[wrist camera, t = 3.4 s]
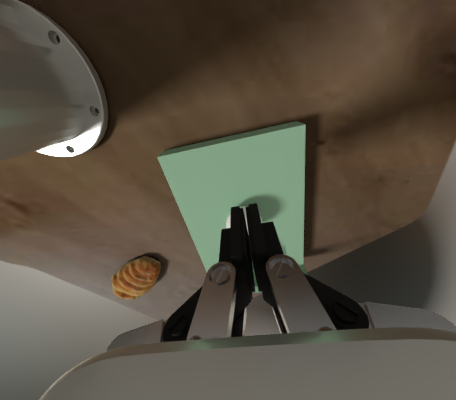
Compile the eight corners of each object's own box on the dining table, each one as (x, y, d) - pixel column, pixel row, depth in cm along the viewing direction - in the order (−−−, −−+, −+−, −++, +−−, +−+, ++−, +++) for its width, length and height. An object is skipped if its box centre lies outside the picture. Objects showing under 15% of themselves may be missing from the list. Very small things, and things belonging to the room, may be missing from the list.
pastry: (137, 245, 29) (125, 265, 25) (172, 263, 31) (166, 283, 28) (113, 273, 32) (100, 293, 29) (146, 287, 35) (138, 307, 31)
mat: (164, 150, 20) (147, 165, 16) (296, 120, 19) (317, 129, 14) (212, 270, 31) (210, 297, 27) (297, 258, 30) (309, 285, 25)
